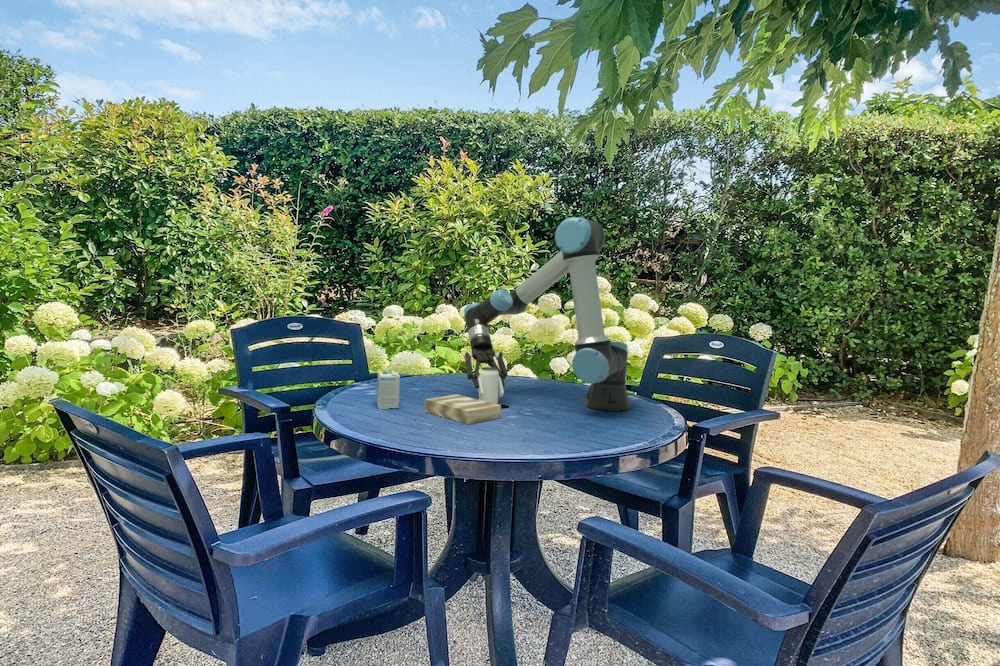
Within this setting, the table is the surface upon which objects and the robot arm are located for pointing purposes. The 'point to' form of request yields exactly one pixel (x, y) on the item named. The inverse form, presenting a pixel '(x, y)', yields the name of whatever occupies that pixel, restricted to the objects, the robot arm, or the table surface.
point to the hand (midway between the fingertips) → (491, 395)
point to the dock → (463, 408)
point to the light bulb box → (388, 389)
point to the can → (489, 384)
